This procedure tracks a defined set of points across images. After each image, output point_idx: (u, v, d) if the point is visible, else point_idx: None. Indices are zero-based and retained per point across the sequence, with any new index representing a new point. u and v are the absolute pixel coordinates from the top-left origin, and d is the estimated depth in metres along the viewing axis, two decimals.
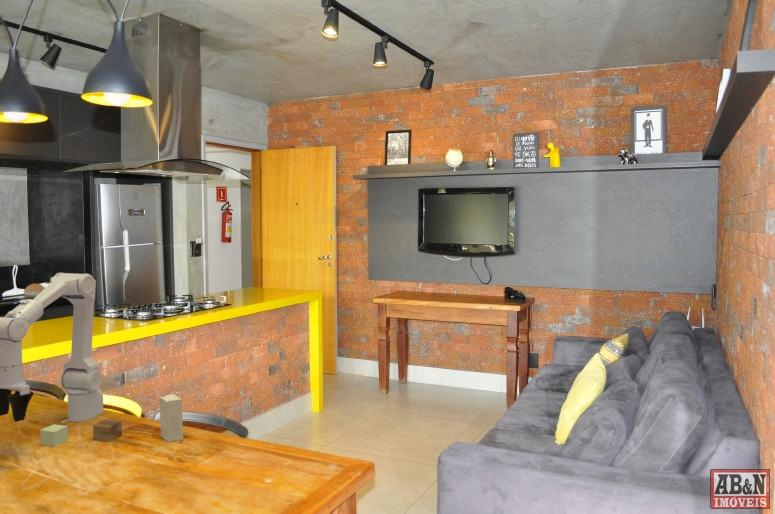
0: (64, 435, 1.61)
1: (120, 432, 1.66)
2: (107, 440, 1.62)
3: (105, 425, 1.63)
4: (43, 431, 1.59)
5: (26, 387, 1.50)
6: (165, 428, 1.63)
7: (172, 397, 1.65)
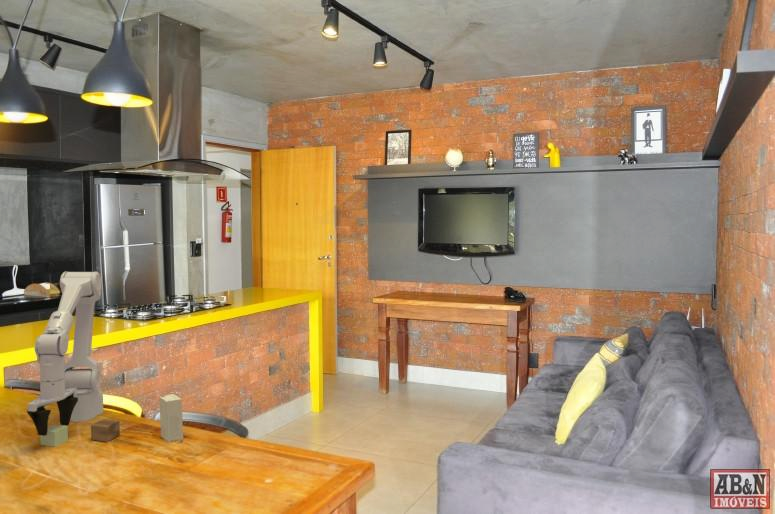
0: (64, 435, 1.61)
1: (118, 432, 1.66)
2: (105, 440, 1.62)
3: (102, 425, 1.62)
4: None
5: (31, 405, 1.53)
6: (165, 428, 1.63)
7: (172, 397, 1.65)
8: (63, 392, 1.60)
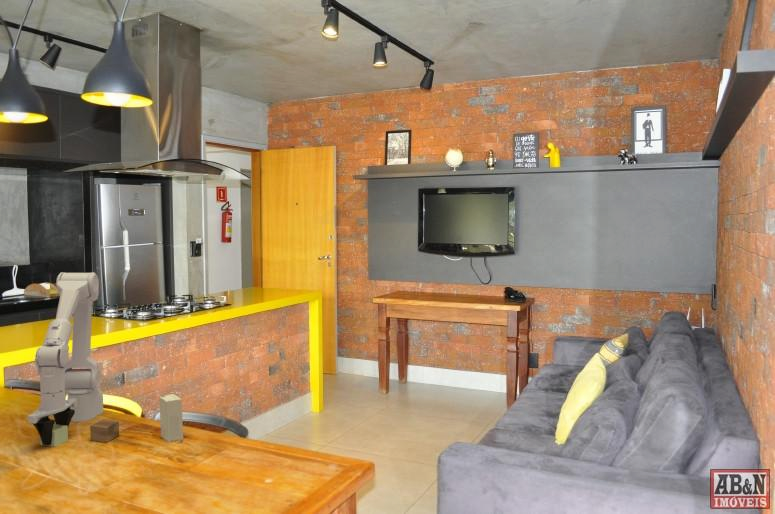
0: (64, 435, 1.61)
1: (117, 432, 1.65)
2: (104, 441, 1.61)
3: (102, 425, 1.62)
4: None
5: (31, 416, 1.53)
6: (165, 428, 1.63)
7: (172, 397, 1.65)
8: (63, 403, 1.60)
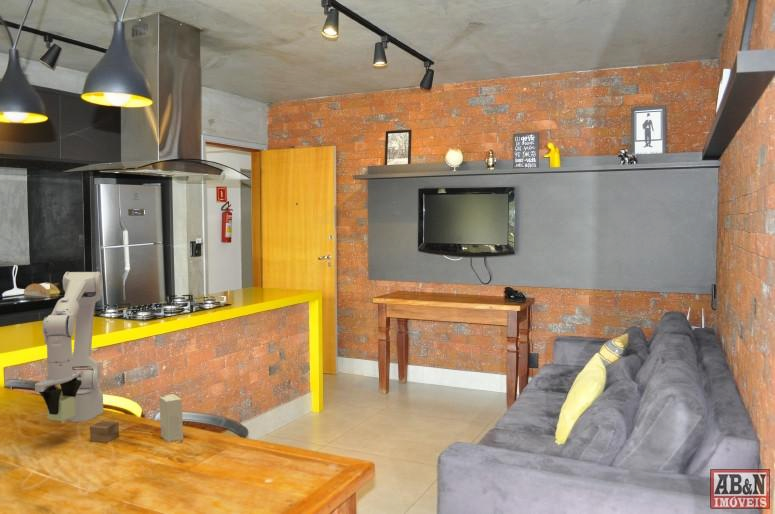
0: (71, 406, 1.61)
1: (117, 433, 1.65)
2: (104, 441, 1.61)
3: (101, 426, 1.62)
4: None
5: (38, 385, 1.53)
6: (165, 428, 1.63)
7: (172, 397, 1.65)
8: (70, 373, 1.60)
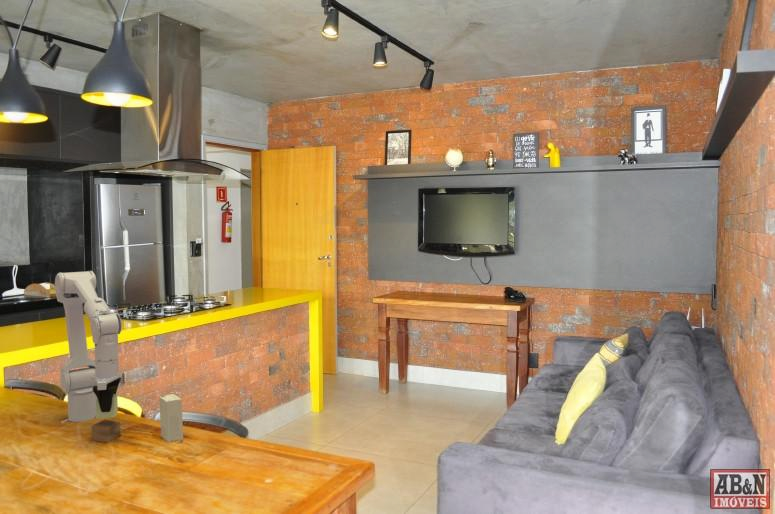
0: (116, 403, 1.66)
1: (118, 433, 1.65)
2: (105, 441, 1.61)
3: (103, 426, 1.62)
4: None
5: (102, 383, 1.57)
6: (165, 428, 1.63)
7: (172, 397, 1.65)
8: (118, 370, 1.65)
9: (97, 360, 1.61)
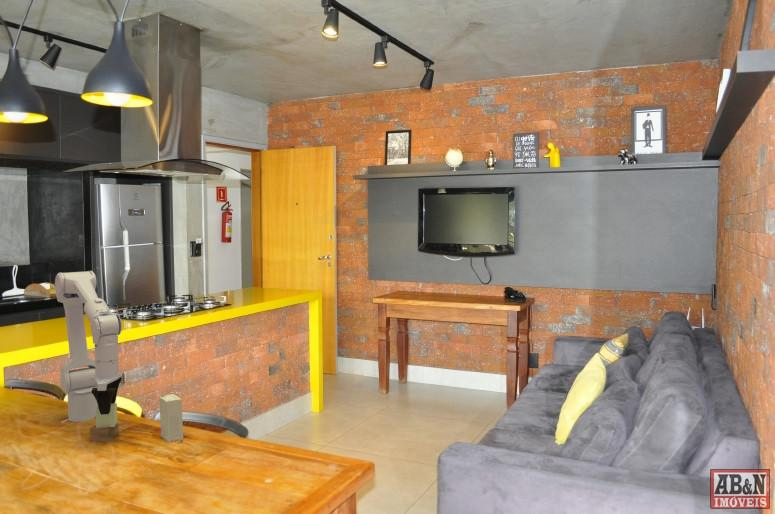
0: (116, 412, 1.66)
1: (117, 435, 1.65)
2: None
3: (102, 428, 1.62)
4: None
5: (102, 384, 1.57)
6: (165, 428, 1.63)
7: (172, 397, 1.65)
8: (118, 371, 1.65)
9: (97, 361, 1.61)
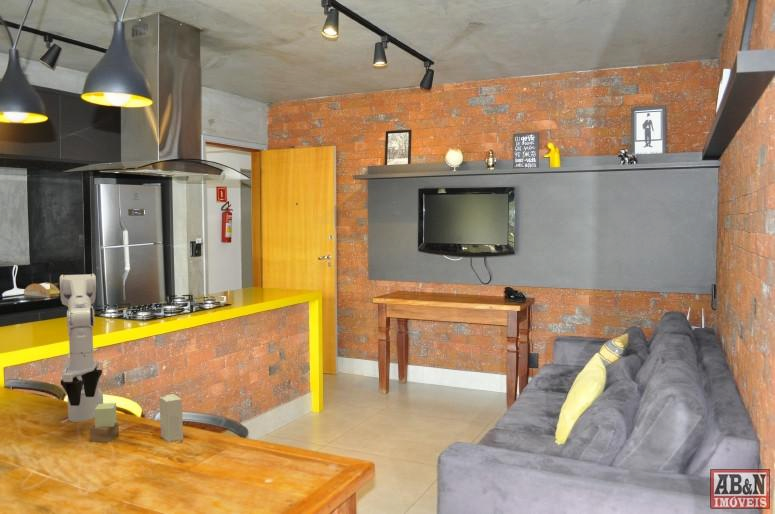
0: (115, 412, 1.66)
1: (117, 434, 1.65)
2: (104, 442, 1.61)
3: (101, 427, 1.62)
4: (98, 410, 1.62)
5: (67, 375, 1.58)
6: (165, 428, 1.63)
7: (172, 397, 1.65)
8: (92, 364, 1.66)
9: (70, 352, 1.63)
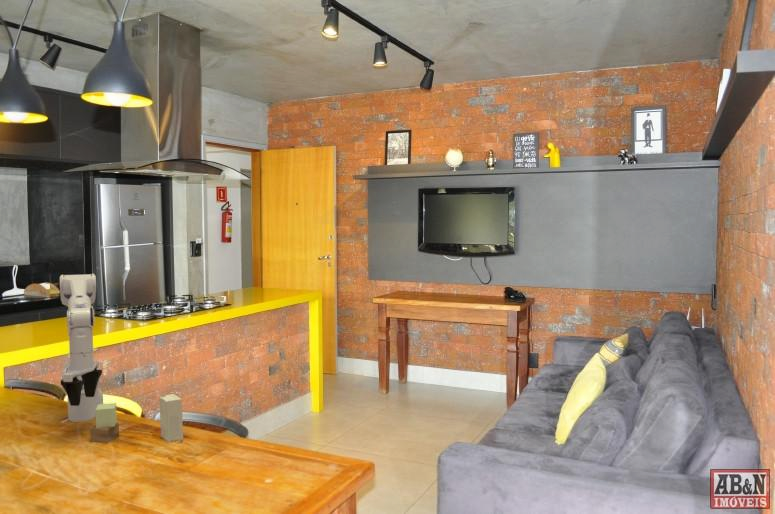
0: (115, 412, 1.66)
1: (117, 434, 1.65)
2: None
3: (102, 428, 1.62)
4: (99, 410, 1.62)
5: (67, 375, 1.58)
6: (165, 428, 1.63)
7: (172, 397, 1.65)
8: (92, 364, 1.66)
9: (70, 352, 1.63)
